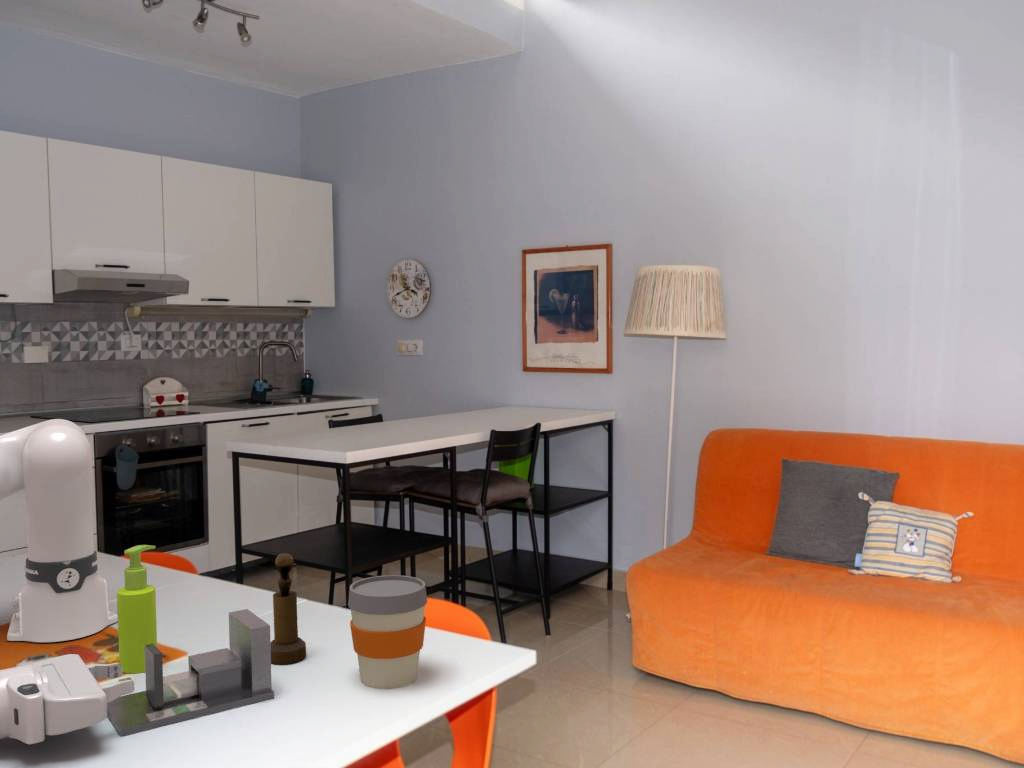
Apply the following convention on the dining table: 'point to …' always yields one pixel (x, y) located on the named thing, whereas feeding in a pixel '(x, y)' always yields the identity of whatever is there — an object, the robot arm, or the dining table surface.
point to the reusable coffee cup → (388, 628)
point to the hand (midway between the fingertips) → (127, 676)
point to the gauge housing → (209, 681)
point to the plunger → (166, 680)
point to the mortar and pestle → (286, 618)
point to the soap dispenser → (136, 613)
